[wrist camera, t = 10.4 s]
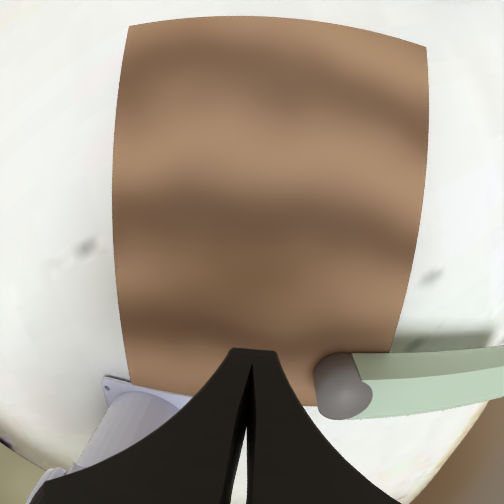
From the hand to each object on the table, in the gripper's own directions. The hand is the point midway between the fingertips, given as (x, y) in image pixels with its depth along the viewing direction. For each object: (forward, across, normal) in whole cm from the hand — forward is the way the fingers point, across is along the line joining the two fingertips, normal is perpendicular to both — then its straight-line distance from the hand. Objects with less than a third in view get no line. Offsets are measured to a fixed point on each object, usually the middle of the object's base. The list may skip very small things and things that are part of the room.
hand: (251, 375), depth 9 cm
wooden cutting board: (+9, 0, -3) cm, 10 cm away
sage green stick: (+7, -11, +5) cm, 14 cm away
